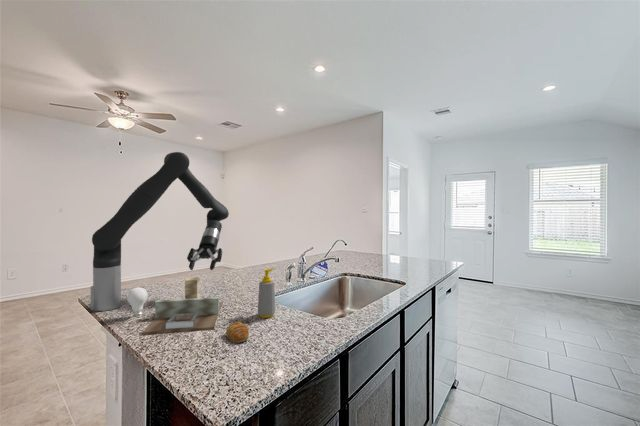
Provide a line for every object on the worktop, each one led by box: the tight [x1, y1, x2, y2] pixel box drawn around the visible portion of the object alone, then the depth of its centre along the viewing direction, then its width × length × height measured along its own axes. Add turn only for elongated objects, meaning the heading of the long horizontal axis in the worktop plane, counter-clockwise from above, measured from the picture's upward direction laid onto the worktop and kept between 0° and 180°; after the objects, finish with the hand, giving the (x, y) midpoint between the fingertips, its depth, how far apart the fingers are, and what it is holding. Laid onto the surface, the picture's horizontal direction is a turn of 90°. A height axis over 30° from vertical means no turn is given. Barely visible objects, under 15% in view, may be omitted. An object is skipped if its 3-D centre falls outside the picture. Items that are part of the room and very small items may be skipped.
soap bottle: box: [257, 267, 276, 319], centre depth 111 cm, size 7×7×18 cm
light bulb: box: [126, 287, 149, 316], centre depth 109 cm, size 7×7×11 cm
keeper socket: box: [166, 313, 198, 330], centre depth 100 cm, size 8×8×2 cm
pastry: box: [225, 321, 250, 344], centre depth 92 cm, size 9×7×4 cm
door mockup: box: [141, 296, 224, 336], centre depth 108 cm, size 22×26×7 cm
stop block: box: [184, 276, 201, 299], centre depth 115 cm, size 4×4×12 cm
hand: (201, 269), depth 124 cm, fingers open, 8 cm apart
